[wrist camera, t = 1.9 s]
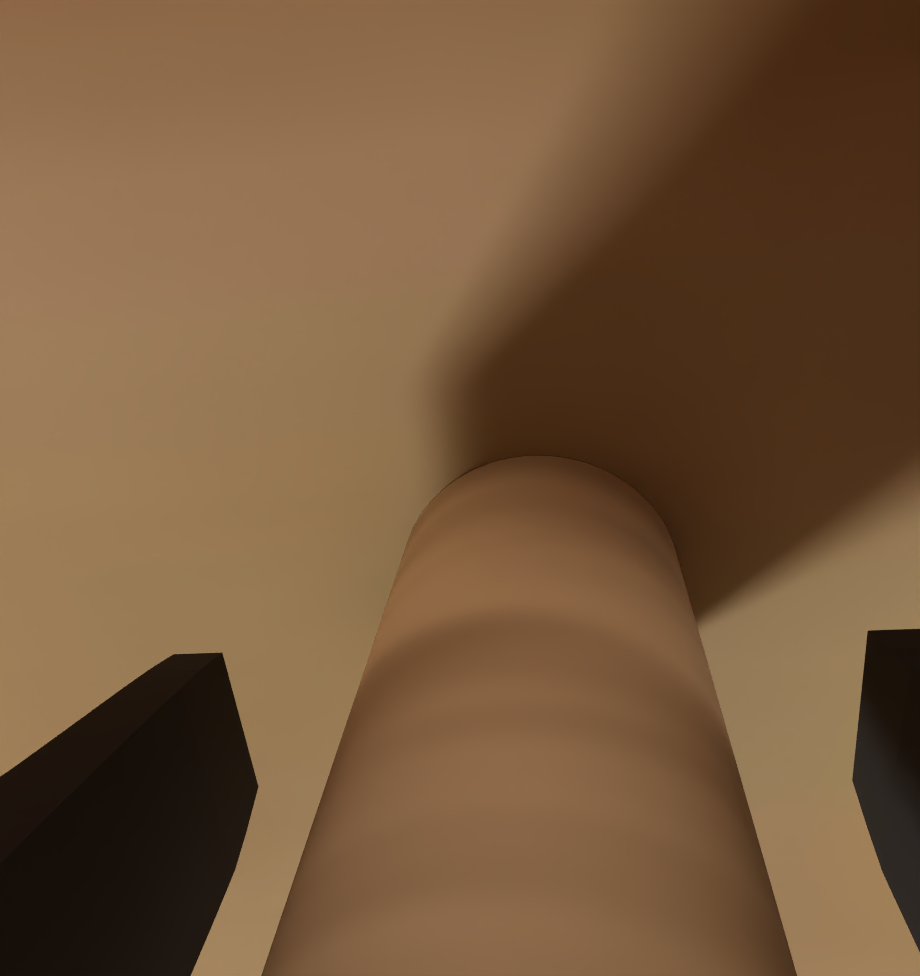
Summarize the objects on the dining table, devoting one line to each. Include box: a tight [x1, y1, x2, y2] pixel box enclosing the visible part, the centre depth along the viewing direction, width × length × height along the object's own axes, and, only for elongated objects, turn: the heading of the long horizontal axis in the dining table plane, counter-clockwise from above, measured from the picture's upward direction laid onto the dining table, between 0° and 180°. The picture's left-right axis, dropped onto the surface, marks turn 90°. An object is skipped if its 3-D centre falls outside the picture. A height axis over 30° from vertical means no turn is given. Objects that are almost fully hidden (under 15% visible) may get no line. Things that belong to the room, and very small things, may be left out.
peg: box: [262, 456, 797, 976], centre depth 8 cm, size 4×4×8 cm
